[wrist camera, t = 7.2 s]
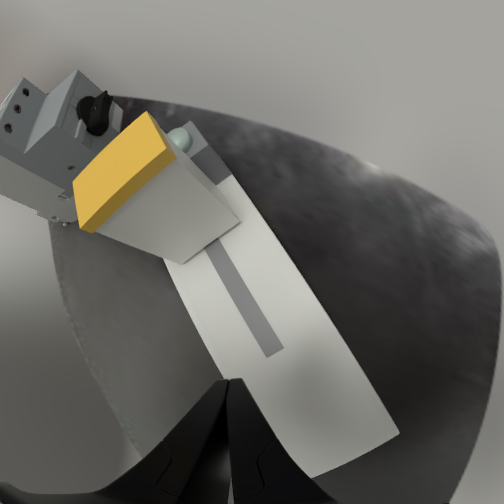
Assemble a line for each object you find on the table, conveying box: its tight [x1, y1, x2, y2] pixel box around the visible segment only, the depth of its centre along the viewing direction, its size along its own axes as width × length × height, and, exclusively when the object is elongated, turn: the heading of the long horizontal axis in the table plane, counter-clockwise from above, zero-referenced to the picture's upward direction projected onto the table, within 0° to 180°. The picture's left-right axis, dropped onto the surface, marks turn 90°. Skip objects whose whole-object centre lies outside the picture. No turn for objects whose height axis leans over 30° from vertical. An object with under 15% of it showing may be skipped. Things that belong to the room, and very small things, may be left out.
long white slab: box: [163, 121, 400, 478], centre depth 15 cm, size 24×8×6 cm, turn 31°
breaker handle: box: [73, 111, 240, 264], centre depth 15 cm, size 3×5×9 cm, turn 121°
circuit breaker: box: [0, 70, 123, 227], centre depth 20 cm, size 8×14×15 cm, turn 101°
